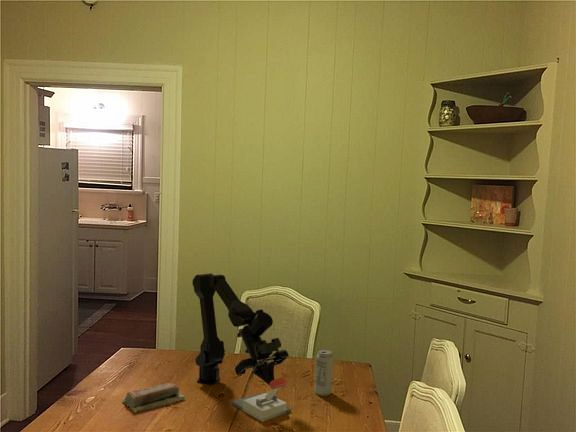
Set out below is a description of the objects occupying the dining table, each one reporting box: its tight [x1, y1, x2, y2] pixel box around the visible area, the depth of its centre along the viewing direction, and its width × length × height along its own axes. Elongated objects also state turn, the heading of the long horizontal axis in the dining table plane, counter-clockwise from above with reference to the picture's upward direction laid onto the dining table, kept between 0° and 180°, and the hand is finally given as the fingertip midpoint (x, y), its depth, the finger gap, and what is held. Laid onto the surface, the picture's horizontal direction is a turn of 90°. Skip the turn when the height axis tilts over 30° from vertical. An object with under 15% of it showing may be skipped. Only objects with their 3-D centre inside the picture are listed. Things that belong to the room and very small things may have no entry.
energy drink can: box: [314, 349, 334, 397], centre depth 188 cm, size 6×6×15 cm
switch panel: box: [231, 392, 292, 423], centre depth 174 cm, size 16×12×5 cm
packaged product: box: [121, 382, 186, 412], centre depth 176 cm, size 18×5×10 cm
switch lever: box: [261, 376, 287, 403], centre depth 168 cm, size 2×5×10 cm
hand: (273, 386), depth 168 cm, fingers closed, pressing on switch lever
